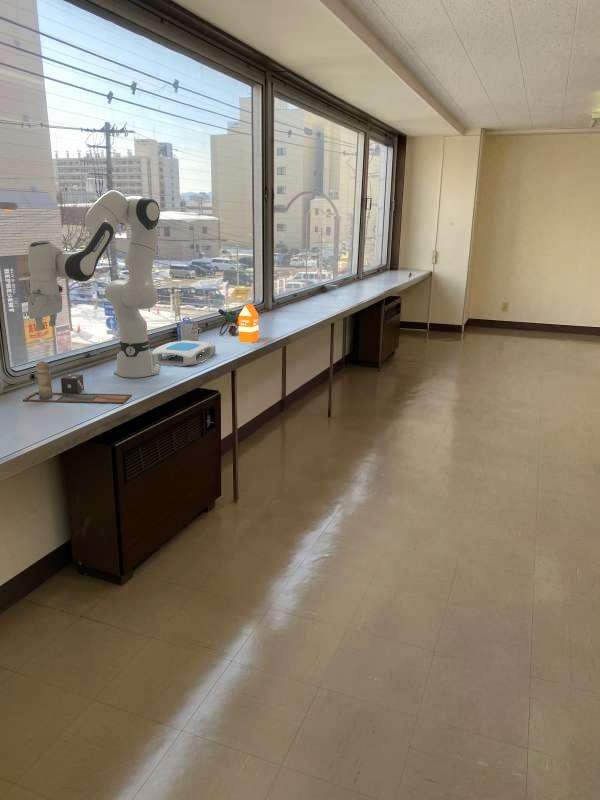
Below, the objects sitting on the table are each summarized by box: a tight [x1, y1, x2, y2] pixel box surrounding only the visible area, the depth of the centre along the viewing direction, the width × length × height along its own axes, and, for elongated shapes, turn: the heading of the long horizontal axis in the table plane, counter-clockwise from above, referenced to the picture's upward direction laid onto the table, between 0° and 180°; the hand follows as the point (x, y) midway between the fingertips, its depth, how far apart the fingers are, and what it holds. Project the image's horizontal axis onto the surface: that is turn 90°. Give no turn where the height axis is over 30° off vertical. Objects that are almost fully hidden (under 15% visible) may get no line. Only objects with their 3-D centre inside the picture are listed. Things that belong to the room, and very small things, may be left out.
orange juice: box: [238, 303, 259, 344], centre depth 320 cm, size 8×9×20 cm
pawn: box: [35, 361, 54, 400], centre depth 215 cm, size 5×5×14 cm
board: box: [22, 391, 133, 405], centre depth 217 cm, size 10×36×1 cm, turn 89°
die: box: [60, 373, 85, 393], centre depth 224 cm, size 6×6×6 cm
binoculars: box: [217, 308, 239, 337], centre depth 337 cm, size 14×14×15 cm
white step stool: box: [151, 340, 216, 367], centre depth 279 cm, size 21×28×6 cm
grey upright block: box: [176, 316, 199, 342], centre depth 307 cm, size 10×6×14 cm, turn 124°
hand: (46, 328), depth 212 cm, fingers open, 8 cm apart
